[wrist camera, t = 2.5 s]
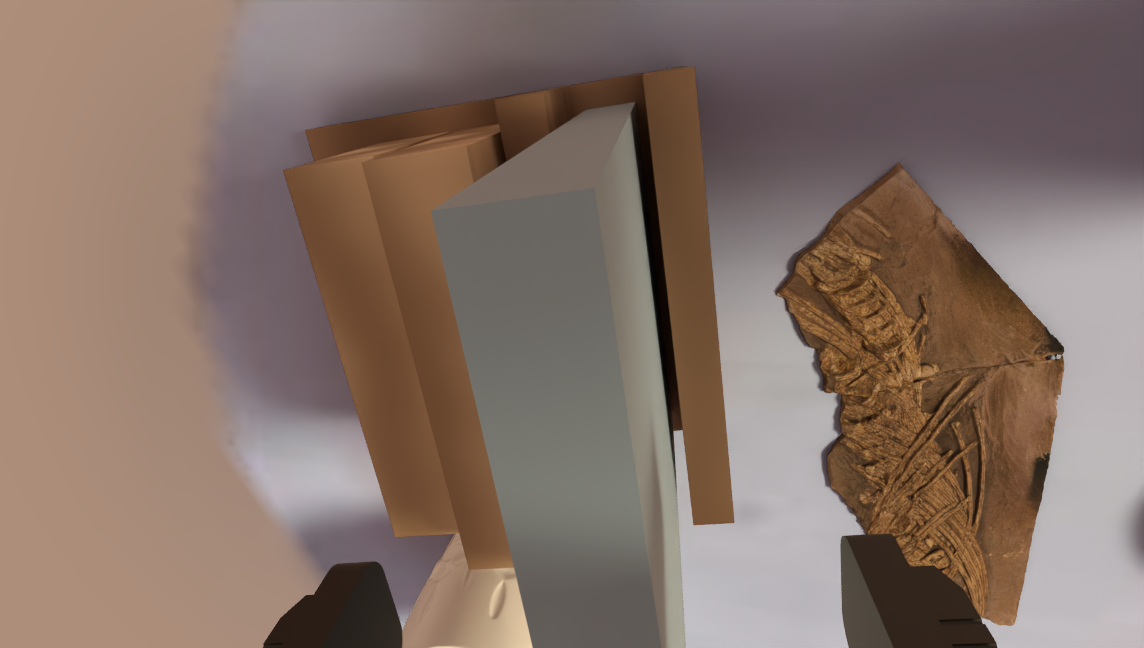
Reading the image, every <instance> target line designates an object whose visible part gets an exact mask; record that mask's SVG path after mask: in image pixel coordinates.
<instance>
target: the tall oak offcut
mask: <svg viewBox="0 0 1144 648" xmlns="http://www.w3.org/2000/svg"><path fill="white" fill-rule="evenodd" d="M505 162H506V158H505V153H504V148H503V143H502V137H501V132H500V127H499V124H495V125H489V126H483V127H476V128H470V129H464V130H459V131H456V132H453V133H450V134H447V135H444V136H441V137H438V138H435V139H432V140H429V141H426V142H423V143H420V144H417V145H414V146H411V147H407V148H404V149H401V150H398V151H395V152H392V153H389V154H386V155H383V156H380V157H377V158H374V159H371V160H368V161H365V162H362V166H363V170H364V174H365V178H366V182H367V185H368V189H369V193H370V197H371V201H372V204H373V208H374V212H375V216H376V219H377V223H378V227H379V231H380V235H381V238H382V242H383V246H384V250H385V254H386V257H387V261H388V265H389V269H390V273H391V276H392V280H393V284H394V288H395V292H396V295H397V299H398V303H399V307H400V311H401V314H402V318H403V322H404V326H405V330H406V333H407V337H408V341H409V345H410V348H411V352H412V356H413V360H414V364H415V367H416V371H417V375H418V379H419V383H420V386H421V390H422V394H423V398H424V402H425V405H426V409H427V413H428V417H429V421H430V424H431V428H432V432H433V436H434V440H435V443H436V447H437V451H438V455H439V458H440V462H441V466H442V470H443V474H444V477H445V481H446V485H447V489H448V493H449V496H450V500H451V504H452V508H453V512H454V515H455V519H456V523H457V527H458V531H459V534H460V538H461V542H462V546H463V550H464V553H465V557H466V561H467V565H468V569H469V570H478V569H499V568H514V565H513V561H512V557H511V553H510V548H509V544H508V540H507V535H506V531H505V527H504V523H503V518H502V514H501V510H500V505H499V501H498V497H497V493H496V488H495V484H494V480H493V476H492V471H491V467H490V463H489V458H488V454H487V450H486V446H485V441H484V437H483V433H482V428H481V424H480V420H479V416H478V411H477V407H476V403H475V399H474V394H473V390H472V386H471V381H470V377H469V373H468V369H467V364H466V360H465V356H464V351H463V347H462V343H461V339H460V334H459V330H458V326H457V321H456V317H455V313H454V309H453V304H452V300H451V296H450V292H449V287H448V283H447V279H446V274H445V270H444V266H443V262H442V257H441V253H440V249H439V244H438V240H437V236H436V232H435V227H434V223H433V219H432V214H431V210H433V209H435V208H436V207H438V206H439V205H441V204H442V203H444V202H445V201H447V200H448V199H450V198H451V197H453V196H454V195H456V194H458V193H459V192H461V191H462V190H464V189H465V188H467V187H468V186H470V185H471V184H473V183H474V182H476V181H478V180H479V179H481V178H482V177H484V176H485V175H487V174H488V173H490V172H491V171H493V170H494V169H496V168H497V167H499V166H501V165H502V164H504V163H505Z"/></svg>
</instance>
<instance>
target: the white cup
mask: <svg viewBox="0 0 1144 648" xmlns="http://www.w3.org/2000/svg"><path fill="white" fill-rule="evenodd" d="M402 636H403V642H402V648H533V647H532V642H531V638H530V634H529V630H528V625H527V621H526V617H525V612H524V608H523V604H522V600H521V595H520V591H519V587H518V583H517V578H516V574H515V570H514V568H499V569H478V570H469V569H468V565H467V561H466V557H465V553H464V550H463V546H462V542H461V538H460V534H454V535H453V537H452V539H451V540H450V542H449V544H448V546H447V548H446V550H445V552H444V554H443V556H442V558H441V559H440V560H439V561H438V562H437V564H436V565H435V567H434V569H433V571H432V573H431V576H430V577H429V579H428V580H427V581H426V584H425V586H424V587H423V589H422V591H421V593H420V595H419V597H418V599H417V601H416V603H415V605H414V607H413V609H412V611H411V613H410V615H409V617H408V619H407V621H406V623H405V625H404V627H403V629H402Z"/></svg>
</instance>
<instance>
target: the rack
mask: <svg viewBox="0 0 1144 648" xmlns="http://www.w3.org/2000/svg"><path fill="white" fill-rule="evenodd" d="M632 102H636V110H637V118H638V127H639V135H640V144H641V152H642V161H643V169H644V177H645V186H646V194H647V203H648V211H649V220H650V228H651V237H652V245H653V254H654V262H655V271H656V279H657V288H658V296H659V304H660V313H661V321H662V330H663V338H664V347H665V355H666V364H667V372H668V381H669V389H670V398H671V406H672V417H673V431H677V430H683V436H684V445H685V453H686V462H687V471H688V480H689V489H690V498H691V507H692V515H693V524H694V525H706V524H724V523H734V513H733V501H732V490H731V478H730V467H729V455H728V444H727V432H726V421H725V409H724V398H723V386H722V375H721V363H720V352H719V340H718V329H717V317H716V306H715V294H714V283H713V271H712V260H711V248H710V237H709V225H708V214H707V202H706V191H705V179H704V168H703V156H702V145H701V133H700V122H699V110H698V99H697V87H696V76H695V67H677V68H671V69H665V70H659V71H653V72H647V73H642V74H636V75H630V76H624V77H618V78H612V79H606V80H600V81H594V82H588V83H582V84H576V85H570V86H564V87H558V88H552V89H546V90H540V91H534V92H528V93H522V94H516V95H510V96H504V97H498V98H492V99H486V100H480V101H474V102H468V103H462V104H457V105H451V106H445V107H439V108H433V109H427V110H421V111H415V112H409V113H403V114H397V115H391V116H385V117H379V118H373V119H367V120H361V121H355V122H349V123H343V124H337V125H331V126H325V127H319V128H314V129H309V130H305V131H306V135H307V138H308V142H309V145H310V149H311V152H312V155H313V159H314V162H315V161H318V160H322V159H325V158H329V157H333V156H336V155H340V154H343V153H347V152H350V151H354V150H357V149H361V148H365V147H368V146H372V145H375V144H379V143H383V142H389V141H396V140H402V139H408V138H414V137H420V136H427V135H433V134H439V133H445V132H449V134H450V133H453V132H456V131H459V130H464V129H470V128H476V127H483V126H489V125H495V124H499V127H500V132H501V137H502V143H503V148H504V153H505V158H506V162H507V161H508V160H510V159H511V158H513V157H514V156H516V155H517V154H519V153H521V152H522V151H524V150H525V149H527V148H528V147H530V146H531V145H533V144H534V143H536V142H537V141H539V140H540V139H542V138H544V137H545V136H547V135H548V134H550V133H551V132H553V131H554V130H556V129H557V128H559V127H560V126H562V125H564V124H565V123H567V122H568V121H570V120H571V119H573V118H574V117H576V116H577V115H579V114H580V113H582V112H583V111H585V110H588V109H594V108H601V107H607V106H613V105H619V104H626V103H632Z"/></svg>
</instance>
